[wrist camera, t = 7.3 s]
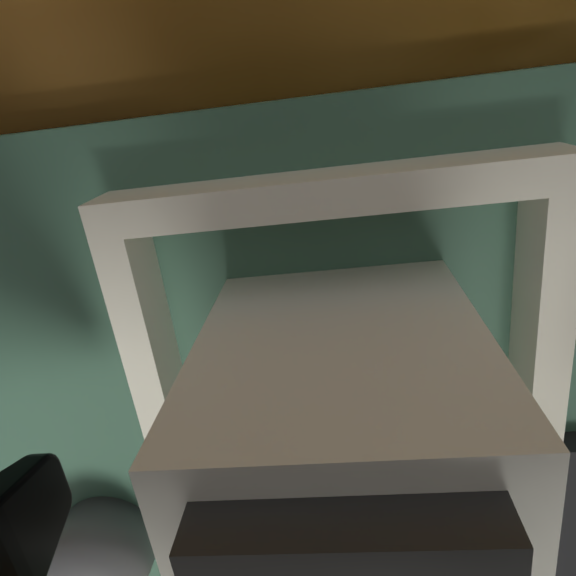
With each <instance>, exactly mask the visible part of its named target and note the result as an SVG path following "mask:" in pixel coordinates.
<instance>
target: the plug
mask: <svg viewBox="0 0 576 576" xmlns="http://www.w3.org/2000/svg"><path fill="white" fill-rule="evenodd" d="M569 460H570V452H569V450H568V448H567V447H566V445H565V444H564V442H563V441H562V439H561V438H560V436H559V435H558V433H557V432H556V430H555V429H554V427H553V426H552V424H551V423H550V421H549V420H548V418H547V417H546V415H545V414H544V412H543V411H542V409H541V408H540V406H539V405H538V403H537V402H536V400H535V399H534V397H533V396H532V394H531V393H530V391H529V390H528V388H527V387H526V385H525V383H524V382H523V380H522V379H521V377H520V376H519V374H518V373H517V371H516V370H515V368H514V367H513V365H512V364H511V362H510V361H509V359H508V358H507V356H506V355H505V353H504V352H503V350H502V349H501V347H500V346H499V344H498V343H497V341H496V340H495V338H494V337H493V335H492V334H491V332H490V331H489V329H488V328H487V326H486V325H485V323H484V322H483V320H482V319H481V317H480V315H479V314H478V312H477V311H476V309H475V308H474V306H473V305H472V303H471V302H470V300H469V299H468V297H467V296H466V294H465V293H464V291H463V290H462V288H461V287H460V285H459V284H458V282H457V281H456V279H455V278H454V276H453V275H452V273H451V272H450V270H449V269H448V267H447V266H446V264H445V263H444V261H443V260H437V261H426V262H415V263H403V264H392V265H381V266H369V267H358V268H347V269H335V270H324V271H313V272H301V273H290V274H279V275H267V276H256V277H245V278H233V279H227V280H226V282H225V284H224V286H223V288H222V290H221V291H220V293H219V295H218V297H217V299H216V301H215V303H214V305H213V307H212V309H211V311H210V313H209V315H208V317H207V319H206V321H205V323H204V325H203V327H202V329H201V331H200V333H199V334H198V336H197V338H196V340H195V342H194V344H193V346H192V348H191V350H190V352H189V354H188V356H187V358H186V360H185V362H184V364H183V366H182V368H181V370H180V372H179V374H178V375H177V377H176V379H175V381H174V383H173V385H172V387H171V389H170V391H169V393H168V395H167V397H166V399H165V401H164V403H163V405H162V407H161V409H160V411H159V413H158V415H157V417H156V418H155V420H154V422H153V424H152V426H151V428H150V430H149V432H148V434H147V436H146V438H145V440H144V442H143V444H142V446H141V448H140V450H139V452H138V454H137V456H136V458H135V460H134V461H133V463H132V465H131V467H130V469H129V471H128V473H129V476H130V479H131V483H132V486H133V489H134V492H135V495H136V498H137V502H138V505H139V508H140V511H141V514H142V518H143V521H144V524H145V527H146V530H147V533H148V537H149V540H150V543H151V546H152V549H153V553H154V556H155V559H156V562H157V565H158V568H159V572H160V575H161V576H555V575H556V567H557V558H558V550H559V542H560V534H561V526H562V517H563V509H564V501H565V493H566V485H567V477H568V468H569Z"/></svg>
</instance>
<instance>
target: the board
mask: <svg viewBox="0 0 576 576" xmlns="http://www.w3.org/2000/svg"><path fill="white" fill-rule="evenodd" d="M437 260H443V261H444V263H445V264H446V266H447V267H448V269H449V270H450V272H451V273H452V275H453V276H454V278H455V279H456V281H457V282H458V284H459V285H460V287H461V288H462V290H463V291H464V293H465V294H466V296H467V297H468V299H469V300H470V302H471V303H472V305H473V306H474V308H475V309H476V311H477V312H478V314H479V315H480V317H481V319H482V320H483V322H484V323H485V325H486V326H487V328H488V329H489V331H490V332H491V334H492V335H493V337H494V338H495V340H496V341H497V343H498V344H499V346H500V347H501V349H502V350H503V352H504V353H505V355H506V356H507V358H508V359H509V361H510V362H511V364H512V365H513V367H514V368H515V370H516V371H517V373H518V374H519V376H520V377H521V379H522V380H523V382H524V383H525V385H526V387H527V388H528V390H529V391H530V393H531V394H532V396H533V397H534V399H535V400H536V402H537V403H538V405H539V406H540V408H541V409H542V411H543V412H544V414H545V415H546V417H547V418H548V420H549V421H550V423H551V424H552V426H553V427H554V429H555V430H556V432H557V433H558V435H559V436H560V438H561V439H562V441H563V442H564V444H565V445H566V447H567V448H568V450H569V452H570V460H569V468H568V477H567V485H566V493H565V501H564V509H563V517H562V526H561V534H560V542H559V550H558V558H557V567H556V575H555V576H576V62H573V63H565V64H557V65H549V66H541V67H533V68H525V69H517V70H509V71H501V72H493V73H485V74H478V75H470V76H462V77H454V78H446V79H438V80H430V81H422V82H414V83H406V84H398V85H390V86H382V87H375V88H367V89H359V90H351V91H343V92H335V93H327V94H319V95H311V96H303V97H295V98H287V99H279V100H272V101H264V102H256V103H248V104H240V105H232V106H224V107H216V108H208V109H200V110H192V111H184V112H177V113H169V114H161V115H153V116H145V117H137V118H129V119H121V120H113V121H105V122H97V123H89V124H81V125H74V126H66V127H58V128H50V129H42V130H34V131H26V132H18V133H10V134H2V135H0V471H2V470H3V469H5V468H7V467H8V466H10V465H11V464H13V463H15V462H16V461H18V460H19V459H21V458H23V457H24V456H26V455H29V454H38V453H52V454H55V455H56V456H57V457H58V458H59V460H60V462H61V465H62V468H63V470H64V473H65V476H66V478H67V481H68V484H69V487H70V489H71V493H72V504H71V509H70V512H69V515H68V518H67V521H66V523H65V526H64V529H63V532H62V535H61V537H60V540H59V543H58V546H57V549H56V551H55V554H54V557H53V560H52V563H51V566H50V568H49V571H48V574H47V576H161V575H160V572H159V568H158V565H157V562H156V559H155V556H154V553H153V549H152V546H151V543H150V540H149V537H148V533H147V530H146V527H145V524H144V521H143V518H142V514H141V511H140V508H139V505H138V502H137V498H136V495H135V492H134V489H133V486H132V483H131V479H130V476H129V473H128V471H129V469H130V467H131V465H132V463H133V461H134V460H135V458H136V456H137V454H138V452H139V450H140V448H141V446H142V444H143V442H144V440H145V438H146V436H147V434H148V432H149V430H150V428H151V426H152V424H153V422H154V420H155V418H156V417H157V415H158V413H159V411H160V409H161V407H162V405H163V403H164V401H165V399H166V397H167V395H168V393H169V391H170V389H171V387H172V385H173V383H174V381H175V379H176V377H177V375H178V374H179V372H180V370H181V368H182V366H183V364H184V362H185V360H186V358H187V356H188V354H189V352H190V350H191V348H192V346H193V344H194V342H195V340H196V338H197V336H198V334H199V333H200V331H201V329H202V327H203V325H204V323H205V321H206V319H207V317H208V315H209V313H210V311H211V309H212V307H213V305H214V303H215V301H216V299H217V297H218V295H219V293H220V291H221V290H222V288H223V286H224V284H225V282H226V280H227V279H233V278H245V277H256V276H267V275H279V274H290V273H301V272H313V271H324V270H335V269H347V268H358V267H369V266H381V265H392V264H403V263H415V262H426V261H437Z"/></svg>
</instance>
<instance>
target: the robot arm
mask: <svg viewBox="0 0 576 576" xmlns="http://www.w3.org/2000/svg"><path fill="white" fill-rule="evenodd" d="M71 504H72V493H71V489H70V487H69V484H68V481H67V478H66V476H65V473H64V470H63V468H62V465H61V462H60V460H59V458H58V457H57V456H56V455H55V454H52V453H38V454H29V455H26V456H24V457H23V458H21V459H19V460H18V461H16V462H15V463H13V464H11V465H10V466H8V467H7V468H5V469H3V470H2V471H0V576H47V574H48V571H49V568H50V566H51V563H52V560H53V557H54V554H55V551H56V549H57V546H58V543H59V540H60V537H61V535H62V532H63V529H64V526H65V523H66V521H67V518H68V515H69V512H70V509H71Z"/></svg>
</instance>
